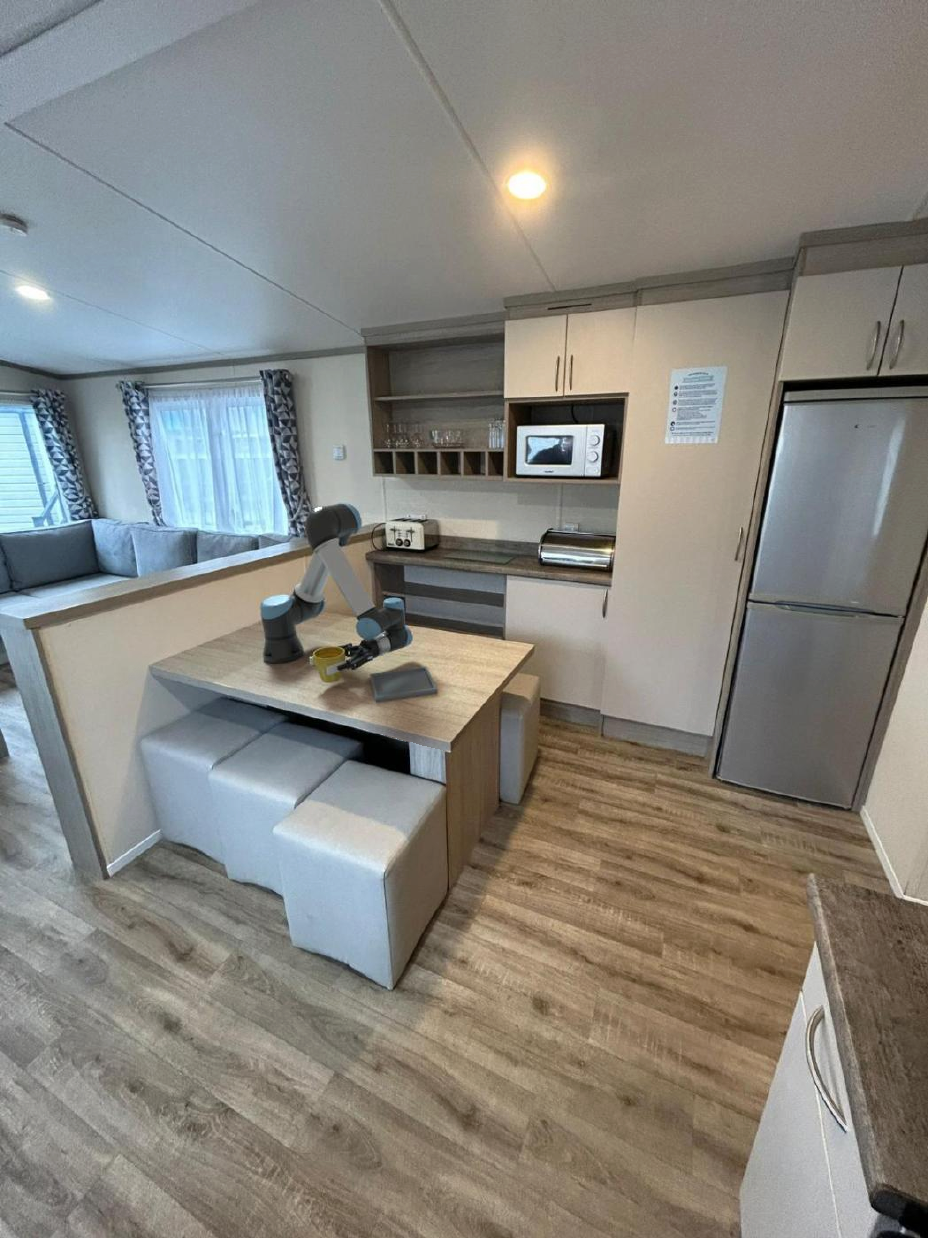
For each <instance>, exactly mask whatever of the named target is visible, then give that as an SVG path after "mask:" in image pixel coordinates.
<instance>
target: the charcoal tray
mask: <svg viewBox="0 0 928 1238" xmlns="http://www.w3.org/2000/svg"><path fill="white" fill-rule="evenodd" d="M369 676H370V683H371V687H372V691H373V697H374V702H375V704H376V703H383V702H390V701H396V700H397V701H398V700H404V699H410V698H417V697H423V696H430V695H431V696H432V695H437V694H438V688H437V686H436V684H435V681H434V679H433V678H432V676H431V673H430V671H429V669H428V667H427V666H420V667H413V668H411V667H410V668H405V669H397V670H391V671H390V670H389V671H384V672H383V671H381V672H374V673H370V674H369Z"/></svg>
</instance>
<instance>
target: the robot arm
mask: <svg viewBox="0 0 928 1238" xmlns="http://www.w3.org/2000/svg"><path fill="white" fill-rule="evenodd" d="M362 520H363V519H362V517H361V513H360V512H359V511H358V509H357V508H356V507H355V506H354V505H352V504H350V503H347V502H345V503H342V502H339V503H336V504H331V505H325V506H318V507H315V508H313V509H311V511H310V512H309V513H308V514H307V516H306V518H305V522H304V532H305V537H306V540H307V542H308V545H309V547H310V548H311V551H313V553H312V555H311V558H310V560H309V563H308V564H307V568H306V569H305V573H304V576H303V578H302V580H301V582H299V583H297V584H296V585H295V588H294V589H293V591H292V593H291V595H290V594H289V595H288V594H277V595H271V596H270V597H269V596H268V597H267V598H266V599H264V600H263V601H262V602H261V603H260V605H259V608H260V609H259V610H260V617H261V622H262V628H263V634H264V639H265V640H264V645H263V649H262V650H263V651H262V657H263V661H264V662H266V663H269V664H270V663H271V664H285V663H290V662H293V661H295V660H298V659H300V658H302V657H303V656H304V655H305V650H304V646H303V644H302V643H301V639H300V638H299V637H298V634H297V627H296V626H298V625H300V624H302V623H304V622H308V621H309V620H313V619H315V618H317V617H318V616H320V615H321V614H322V613H323V612H324V610H325V608H326V601H325V595H324V592H323V591H324V589H325V586H326V583H327V581H328V579H329V577H330V576H331V577H332V580H333V581H334V583H335V584H336V586H337V588H338V590H339V591H340V593H341V594H342V596H343V597H344V599H345V601H346V603H347V604H348V606H349V608H350V609H351V611H352V612H353V614H354V616H355V618H356V620H357V622H356V624H355V629H356V633H357V635H358V636H359V637H360V638H362V640H360V643H359V644H358V645H357V644H356V645H353V643H352V642H350V643H348V644H343V645H338V646H336V647H341V648H343V649H344V650H345V657H346V658H348V659H345V661H342V662H339V663H336V664H334V665H331V666H328V667H326V669H327V675H331V674H333V673H336V672H339V671H342V672H343V671H344V670H346V669H347V670H351V671H355V670H357V669H359V668H360V667H362V666H363V665H365V664H367V663H369V662H371V661H373V659H376V658H378V657H383V655H386V654H389V653H392V652H395V651H398V650H403V648H407V647H408V646H409V645H411V644H412V642H413V640H414V639H413V638H414V637H413V634H412V631H411V628H409V627H407V626H406V617H405V616H406V615H405V614H406V613H405V610H406V609H405V603H404V600H403V599H401V598H400V597H399V598H398V597H389V598H386V599H384V600H383V601H382V603H383V604H382V608H381V609H379V610H378V609H377V607H376V605H375V604H374V602H373V601H372V598H371V597H370V595H369V594H368V592H367V590H366V589H365V587H364V585H363V583H362V582H361V580H360V578H359V576H358V575H357V573H356V571H355V569H354V568H353V566H352V564H351V563H350V561H349V559H348V557H347V556H346V554H345V552H344V550H343V549H342V548H345V547H347V546H348V544H349V543H350V540H351V537H352V536H353V535H356V534H358V533H359V532H360V531H361V529H362V525H363V521H362ZM309 664H310V666H314V665H315V664H314V661H313V655H312V656H309Z"/></svg>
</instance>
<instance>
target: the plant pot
mask: <svg viewBox="0 0 928 1238" xmlns="http://www.w3.org/2000/svg"><path fill="white" fill-rule="evenodd" d="M312 656H313V661H314V665H315V666H316V668H317V671H318V674H319V677H320V680H321V681H322V682H323V683H326V684H329V683H330V684H332V683H335V682H339V681H340V680H341V679H342V676H343V670H342V671H339V672H336V673H333V674H331V675H327V669H326V667H328V666H331V665H334V664H336V663H339V662H342V661H345V662H346V656H345V650H344V649H343V648H341V647H337V646H335V645H334V646H333V645H332V646H324V647H320V648H318V649H316V650H315V651H313V653H312Z"/></svg>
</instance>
